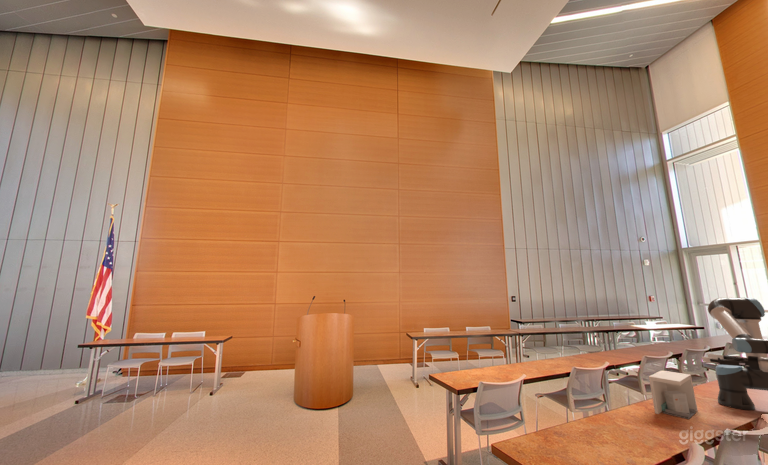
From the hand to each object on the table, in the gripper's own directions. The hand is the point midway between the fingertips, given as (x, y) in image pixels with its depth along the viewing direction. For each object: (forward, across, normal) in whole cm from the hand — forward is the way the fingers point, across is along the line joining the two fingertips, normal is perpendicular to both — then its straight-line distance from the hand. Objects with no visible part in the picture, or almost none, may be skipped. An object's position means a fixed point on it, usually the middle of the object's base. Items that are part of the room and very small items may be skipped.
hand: (705, 357), depth 184 cm
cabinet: (+12, -20, -30) cm, 38 cm away
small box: (+12, -21, -29) cm, 38 cm away
